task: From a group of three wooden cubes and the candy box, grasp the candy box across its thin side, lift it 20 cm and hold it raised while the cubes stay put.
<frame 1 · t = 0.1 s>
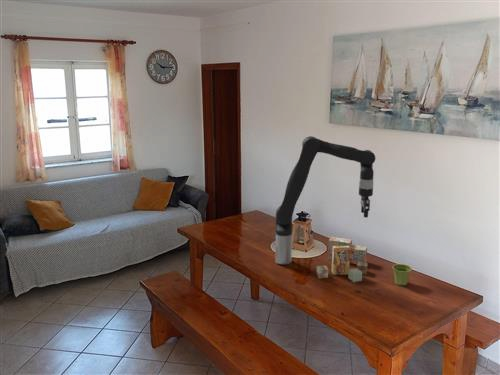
hand: (364, 214, 248), 29 cm above the table, fingers open, 8 cm apart
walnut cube: (361, 272, 244), on the table
stack of blocks: (347, 260, 260), on the table
candy box: (340, 273, 243), on the table
birch cube: (322, 276, 240), on the table
plant pot: (400, 283, 231), on the table
sage cube: (355, 279, 235), on the table
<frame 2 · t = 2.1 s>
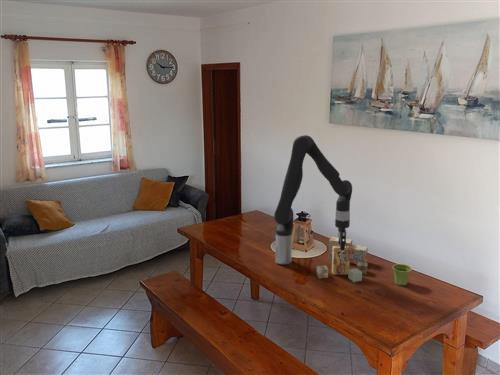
hand: (341, 246, 239), 15 cm above the table, fingers open, 8 cm apart
nothing on the table moved.
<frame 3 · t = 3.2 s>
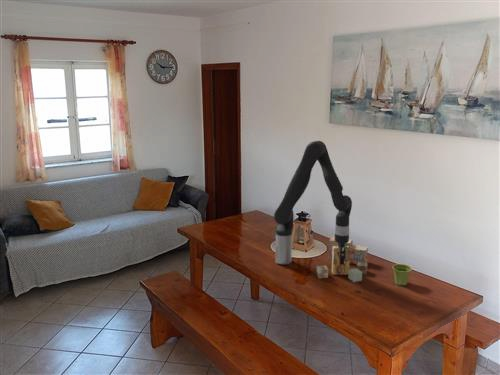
hand: (340, 261, 241), 7 cm above the table, fingers open, 8 cm apart
nothing on the table moved.
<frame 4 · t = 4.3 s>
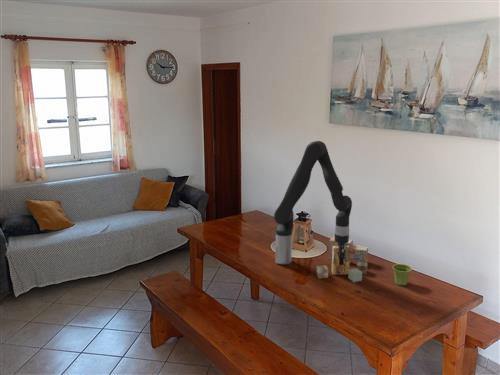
hand: (340, 262, 241), 6 cm above the table, fingers closed on candy box, 4 cm apart
candy box: (340, 273, 243), on the table, touching gripper
everything else where it was.
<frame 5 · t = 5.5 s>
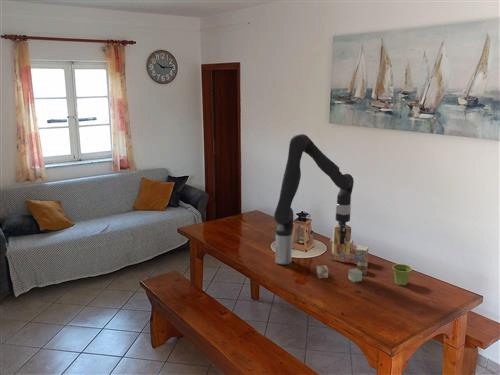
hand: (341, 242, 238), 18 cm above the table, fingers closed on candy box, 4 cm apart
candy box: (340, 253, 240), point 12 cm above the table, touching gripper
everything else where it was.
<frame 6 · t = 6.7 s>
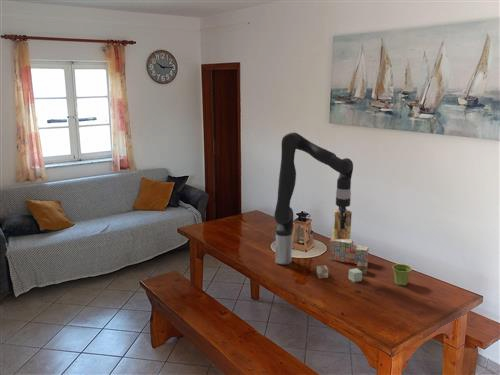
hand: (341, 227, 237), 26 cm above the table, fingers closed on candy box, 4 cm apart
candy box: (341, 238, 239), point 20 cm above the table, touching gripper
everything else where it was.
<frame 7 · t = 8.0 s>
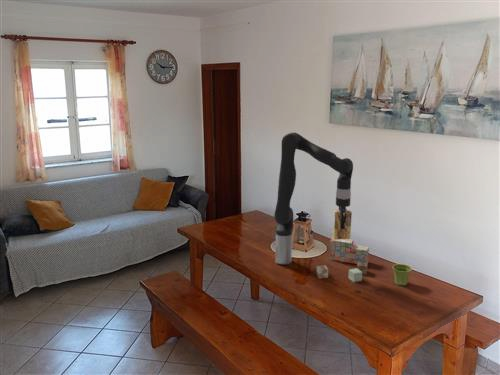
hand: (341, 227, 237), 26 cm above the table, fingers closed on candy box, 4 cm apart
candy box: (341, 238, 239), point 20 cm above the table, touching gripper
everything else where it was.
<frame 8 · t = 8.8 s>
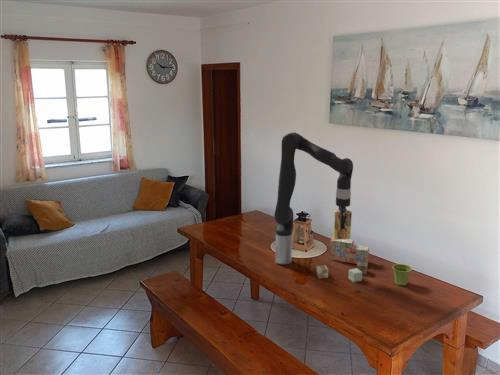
hand: (341, 227, 237), 26 cm above the table, fingers closed on candy box, 4 cm apart
candy box: (341, 238, 239), point 20 cm above the table, touching gripper
at the end: the gripper is holding candy box; candy box point 19.6 cm above the table; sage cube moved 0.1 cm from its start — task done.
